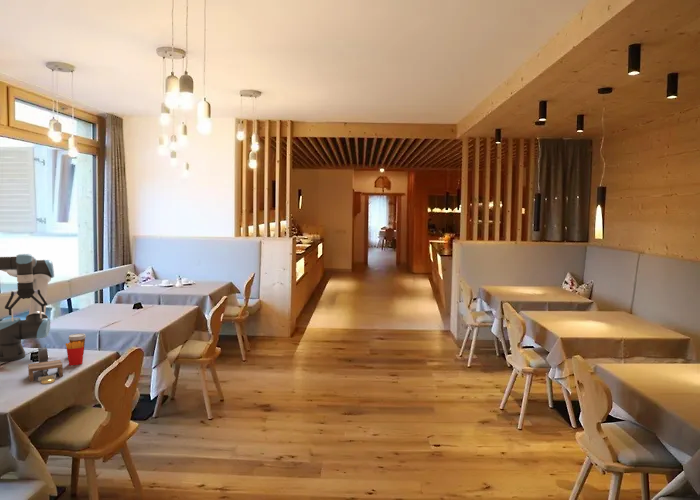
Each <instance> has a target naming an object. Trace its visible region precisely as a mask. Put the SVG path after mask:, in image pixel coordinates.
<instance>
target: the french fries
mask: <svg viewBox="0 0 700 500" xmlns="http://www.w3.org/2000/svg"><path fill="white" fill-rule="evenodd" d="M65 346H66V347H65V348H66V354H67V361H68V366H77V365H78V366H79V365H82V364H83V363H84V362H83V360H84V354H83V350H84V351H85V345H84V346H83V342H82V343H81V341H78V342H76V343H75V342H73V343H70V341H69V342H68V343H65Z"/></svg>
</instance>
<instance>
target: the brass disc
mask: <svg viewBox="0 0 700 500" xmlns="http://www.w3.org/2000/svg"><path fill="white" fill-rule="evenodd" d="M55 381H56V379H54V378H45V379H42V380H41V381H40V383H41V384H42V385H47V384H52V383H55Z"/></svg>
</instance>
